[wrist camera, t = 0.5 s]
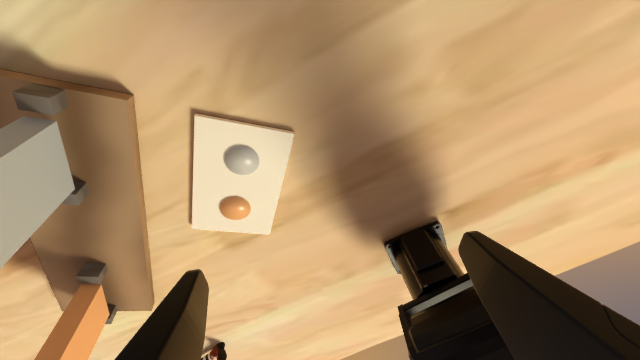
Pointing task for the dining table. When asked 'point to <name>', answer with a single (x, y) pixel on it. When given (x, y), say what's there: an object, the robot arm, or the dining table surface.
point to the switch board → (90, 191)
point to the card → (237, 174)
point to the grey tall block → (30, 179)
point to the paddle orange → (77, 326)
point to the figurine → (216, 353)
